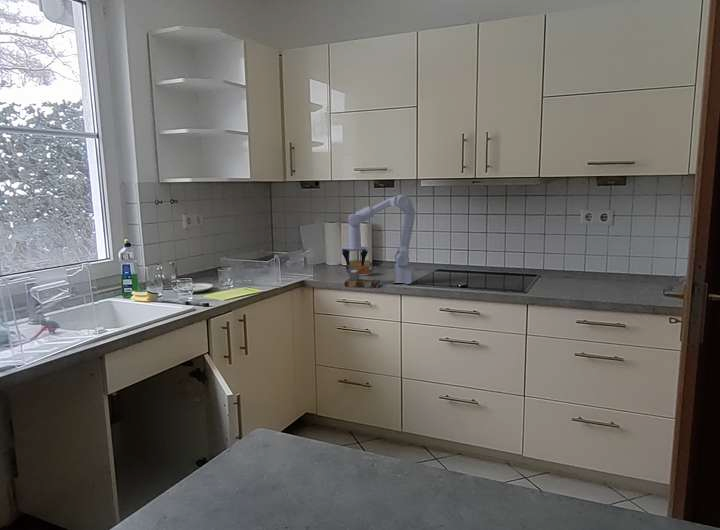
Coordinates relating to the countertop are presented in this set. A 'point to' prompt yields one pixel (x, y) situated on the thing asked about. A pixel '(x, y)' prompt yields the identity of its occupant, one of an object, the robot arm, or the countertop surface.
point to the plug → (354, 275)
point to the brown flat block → (362, 283)
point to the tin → (360, 267)
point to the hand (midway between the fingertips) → (355, 265)
